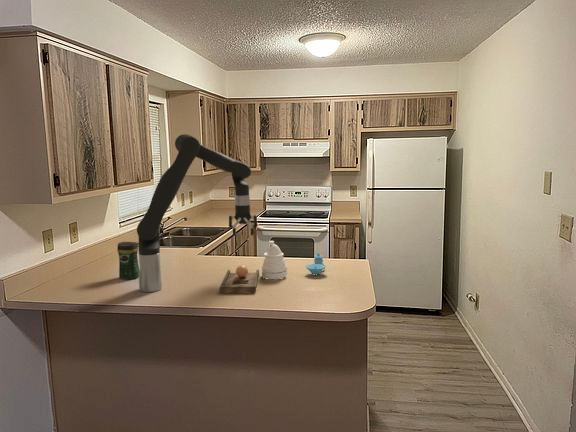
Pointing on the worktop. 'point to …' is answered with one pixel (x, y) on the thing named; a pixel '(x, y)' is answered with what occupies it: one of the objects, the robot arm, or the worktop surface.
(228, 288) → the track
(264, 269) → the honey pot
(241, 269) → the ball
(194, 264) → the worktop surface
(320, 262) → the light blue flared piece
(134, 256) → the coffee jar
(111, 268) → the worktop surface
